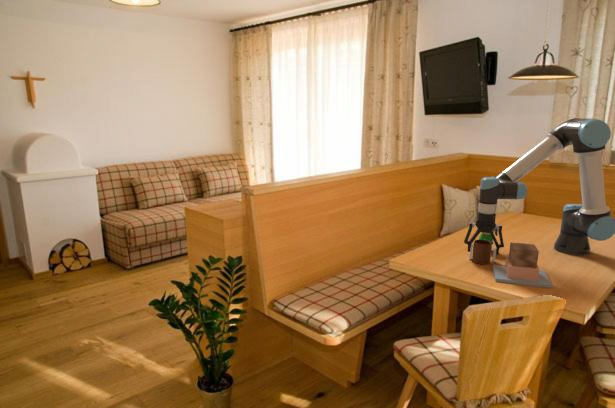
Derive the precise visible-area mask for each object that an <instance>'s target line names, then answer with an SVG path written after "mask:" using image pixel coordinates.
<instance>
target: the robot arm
mask: <svg viewBox="0 0 615 408" xmlns="http://www.w3.org/2000/svg"><path fill="white" fill-rule="evenodd" d="M611 134H612V133H611V128H610V126H609V125H608V124H607V122H605V121H603V120H601V119H597V118H577V117H575V118H571V119H568V120H565V121H564V122H562V123H560V124H559V125H557V126H556V127H554V128H553V129H552V130H551V131H549V132H548V133H546V135H545V137H544V139H543V140H542V141H540V142H538V144H536V145H535V146H534V147H533V148H531V149H530V150H529V151H527V152H526V153H525V154H524V155H522V156H521V157H520V158H519V159H517V160H515V161H514V162H513V163H512V164H510V166H509V167H507V168H506V169H505V170H503V171H502V172H500V173H499V174H498V175H494V176H493V175H492V176H484V177H482V178H481V179H480V186H479V196H478V197H479V199H478V207H477V214H476V215H477V217H476V222H472V221H469V225H468V226H469V227H468V228H467V232H466V235H465V238H464V241H463V243H464V244H466V245H467V252H469V260H472V256H473V245H474V241H475V240H477V239H476V238H477V237H478V236H479V234H482V233H484V232H486V233H490V234H491V236H492V239H493V244H494V245H495V246H493V255H492V256H493V257H492V262H493V263H496V257H497V256H496V255H499V253H500V249H501V248H505V244H504V239H503V233H502V231H503V225H502V224H496V219H497V218H496V217H497V213H496V212H497V208H498V200H523V199H525V198H526V196H527V194H528V187H527V185H526V183H524V182H522V181H521V182H520V181H519V180H521V179H522V178H523V177H525V176H526V175H527V174H529V173H530V172H531V171H533V170H534V169H535V168H536V167H537V166H539V165H540V164H542V163H543V162H545V161H546V160H547V159H548V158H549V157H551V156H553V154H555V153H556V152H557V151H563V150H564V149H565V148H567V147H569V146H572V151H573V153H574V154H575V155H577V159H578V160H577V162H578V171H579V173H578V174H579V181H580V182H579V183H580V192H581V193H580V194H581V203H567V204H565V205H563V210H562V215H561V217H562V218H561V223H560V231H559V234H558V236H557V238H556V240H555V242H554V244H553V249H554V250H556V251H557V252H560V253H564V254H567V255H573V256H587V255H591V254H590V253H591V245H590V242H589V241H590V240H589V239H591V240H595V241H599V242H602V241H604V242H605V241H607V240H609V239H610V238H612V237H613V235H615V218H614V217H613V216H612V214H611V213H612V212H611V208H610V207H609V206H608V205H606V204H607V203H606V191H605V181H604V180H605V179H604V168H603V167H604V166H603V165H604V164H603V154H602V153H603V152H604V150H606V145H607V144H608V142H609V140H610V138H611V136H612V135H611ZM475 226H476V228H478V229H476V230H475V233H474V234H473V235H472V237H470V236H471V233H472V231H473V228H475ZM495 227H496V228H497V230H498V237H499V242H498V240H497V238H496V235H495V233H493V231H492V230H493V229H494V228H495Z"/></svg>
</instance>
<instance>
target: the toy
mask: <svg viewBox="0 0 615 408" xmlns="http://www.w3.org/2000/svg"><path fill="white" fill-rule="evenodd" d="M476 228H477V227H476ZM477 229H478V228H477ZM477 229H476V230H477ZM492 231H493V233H494V235H495V237H498V234H499V232H498V230H497V228H496V227H495V228H494V229H493V230H492ZM484 239H487V240H488V241H490V242H491V243H492V245H494V241H493V239H492V236H491V234H490V233H486V232H484V233H482V232H481V233H480V235H479V238H478V240H484Z"/></svg>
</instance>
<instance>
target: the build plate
mask: <svg viewBox="0 0 615 408" xmlns="http://www.w3.org/2000/svg"><path fill="white" fill-rule="evenodd" d="M492 271H493V276H494V281H495V282H498V283H499V282H500V283H505V284H506V283H507V284H513V285H514V284H515V285H522V286H523V285H525V286H533V287H538V288H547V289H552V288H553V284H552V282H551V281H550V279H549V277H548V275H547V272H546V271H545V270H541V269H540V268H539V265H538V264H537V268H531V267H521V266H512V265H511V263H510V260H509V256H506V257H505V263H504V265H497V264H493V265H492Z"/></svg>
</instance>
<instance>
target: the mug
mask: <svg viewBox="0 0 615 408" xmlns="http://www.w3.org/2000/svg"><path fill="white" fill-rule="evenodd" d="M472 245H473V247H472V257H471V260H472V262H473V263H475V264H478V265H489V264H490V263H491V258H492V257H491V256H492V249H493V248H492V247H493V244H492V243H491V242H490V241H488V240H487V239H484V240H479V239H475V240H474V241H473V244H472Z"/></svg>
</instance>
